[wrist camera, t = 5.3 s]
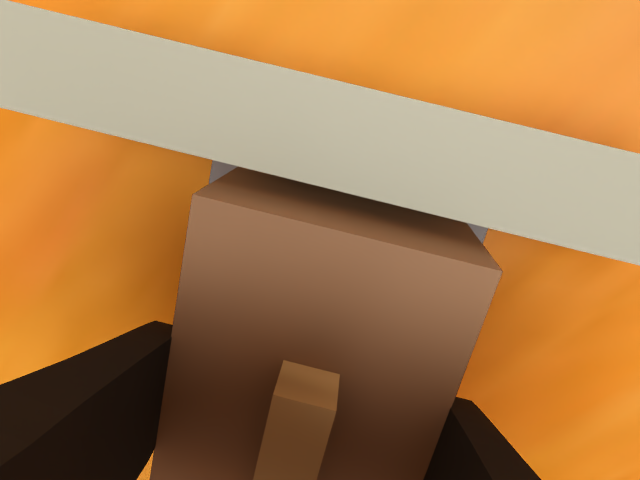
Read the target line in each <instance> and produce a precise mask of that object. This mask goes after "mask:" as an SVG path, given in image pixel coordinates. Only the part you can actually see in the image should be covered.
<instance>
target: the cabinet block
mask: <svg viewBox="0 0 640 480" xmlns="http://www.w3.org/2000/svg"><path fill="white" fill-rule="evenodd" d="M502 272H503V271H502V270H501V268H500V267H499V266H498V264H497V263H496V262H495V260H494V259H493V258H492V256H491V255H490V254H489V252H488V251H487V250H486V248H485V247H484V246H483V244H482V243H481V241H480V240H479V239H478V237H477V236H476V235H475V233H474V232H473V231H472V229H471V228H470V227H469V225H468V224H467V223H466V222H462V221H458V220H454V219H450V218H445V217H441V216H437V215H433V214H429V213H425V212H421V211H417V210H413V209H409V208H405V207H401V206H397V205H393V204H389V203H385V202H381V201H377V200H373V199H369V198H365V197H360V196H356V195H352V194H348V193H344V192H340V191H336V190H332V189H328V188H324V187H320V186H316V185H312V184H308V183H304V182H300V181H296V180H292V179H288V178H284V177H280V176H275V175H271V174H267V173H263V172H259V171H255V170H251V169H247V168H243V167H239V166H238V167H236V168H235V169H233V170H232V171H230V172H228V173H227V174H225V175H223V176H222V177H220V178H218V179H217V180H215V181H214V182H212V183H210V184H209V185H207V186H205V187H204V188H202V189H200V190H199V191H197V192H196V193H194V194H192V201H191V207H190V214H189V221H188V227H187V234H186V241H185V247H184V254H183V261H182V268H181V274H180V281H179V288H178V294H177V301H176V308H175V314H174V321H173V328H172V334H171V337H172V340H171V346H170V353H169V360H168V366H167V373H166V380H165V386H164V393H163V399H162V406H161V413H160V419H159V426H158V433H157V439H156V446H155V449H154V454H153V461H152V468H151V474H150V480H423V479H424V477H425V474H426V471H427V469H428V466H429V463H430V461H431V458H432V455H433V453H434V450H435V447H436V445H437V442H438V439H439V437H440V434H441V431H442V429H443V426H444V424H445V421H446V418H447V416H448V413H449V410H450V408H451V407H452V404H453V402H454V399H455V396H456V394H457V391H458V389H459V386H460V383H461V381H462V378H463V375H464V373H465V370H466V367H467V365H468V362H469V359H470V357H471V354H472V351H473V349H474V346H475V343H476V341H477V338H478V336H479V333H480V330H481V328H482V325H483V322H484V320H485V317H486V314H487V312H488V309H489V306H490V304H491V301H492V298H493V296H494V293H495V290H496V288H497V285H498V282H499V280H500V277H501V275H502Z"/></svg>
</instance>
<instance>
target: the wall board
mask: <svg viewBox="0 0 640 480" xmlns="http://www.w3.org/2000/svg"><path fill="white" fill-rule="evenodd" d="M0 108H4V109H8V110H12V111H16V112H20V113H25V114H29V115H33V116H37V117H41V118H45V119H49V120H53V121H57V122H61V123H65V124H69V125H73V126H77V127H81V128H85V129H89V130H93V131H97V132H101V133H105V134H110V135H114V136H118V137H122V138H126V139H130V140H134V141H138V142H142V143H146V144H150V145H154V146H158V147H162V148H166V149H170V150H174V151H178V152H182V153H186V154H190V155H195V156H199V157H203V158H207V159H211V160H213V161H212V167H211V173H210V179H209V184H210V183H212V182H214V181H215V180H217V179H218V178H220V177H222V176H223V175H225V174H227V173H228V172H230V171H232V170H233V169H235V168H236V167H238V166H239V167H243V168H247V169H251V170H255V171H259V172H263V173H267V174H271V175H275V176H280V177H284V178H288V179H292V180H296V181H300V182H304V183H308V184H312V185H316V186H320V187H324V188H328V189H332V190H336V191H340V192H344V193H348V194H352V195H356V196H360V197H365V198H369V199H373V200H377V201H381V202H385V203H389V204H393V205H397V206H401V207H405V208H409V209H413V210H417V211H421V212H425V213H429V214H433V215H437V216H441V217H445V218H450V219H454V220H458V221H462V222H466V223H467V224H468V225H469V227H470V228H471V229H472V231H473V232H474V233H475V235H476V236H477V237H478V239H479V240H480V241H481V243H482V244H483V241H484V238H485V235H486V232H487V230H488V228H490V229H494V230H498V231H502V232H506V233H510V234H514V235H518V236H522V237H526V238H530V239H535V240H539V241H543V242H547V243H551V244H555V245H559V246H563V247H567V248H571V249H575V250H579V251H583V252H587V253H591V254H595V255H599V256H603V257H607V258H611V259H615V260H620V261H624V262H628V263H632V264H636V265H640V154H638V153H634V152H630V151H626V150H621V149H617V148H613V147H609V146H605V145H601V144H597V143H593V142H588V141H584V140H580V139H576V138H572V137H568V136H564V135H560V134H555V133H551V132H547V131H543V130H539V129H535V128H531V127H527V126H523V125H518V124H514V123H510V122H506V121H502V120H498V119H494V118H490V117H485V116H481V115H477V114H473V113H469V112H465V111H461V110H457V109H453V108H448V107H444V106H440V105H436V104H432V103H428V102H424V101H420V100H415V99H411V98H407V97H403V96H399V95H395V94H391V93H387V92H383V91H378V90H374V89H370V88H366V87H362V86H358V85H354V84H350V83H345V82H341V81H337V80H333V79H329V78H325V77H321V76H317V75H312V74H308V73H304V72H300V71H296V70H292V69H288V68H284V67H280V66H275V65H271V64H267V63H263V62H259V61H255V60H251V59H247V58H242V57H238V56H234V55H230V54H226V53H222V52H218V51H214V50H210V49H205V48H201V47H197V46H193V45H189V44H185V43H181V42H177V41H172V40H168V39H164V38H160V37H156V36H152V35H148V34H144V33H140V32H135V31H131V30H127V29H123V28H119V27H115V26H111V25H107V24H102V23H98V22H94V21H90V20H86V19H82V18H78V17H74V16H70V15H65V14H61V13H57V12H53V11H49V10H45V9H41V8H37V7H32V6H28V5H24V4H20V3H16V2H12V1H8V0H0Z"/></svg>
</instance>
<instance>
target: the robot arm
mask: <svg viewBox="0 0 640 480" xmlns="http://www.w3.org/2000/svg"><path fill="white" fill-rule="evenodd" d="M172 328H173V325H170V324H166V323H162V322H158V321H153V322H150V323H148V324H145V325H143V326H140V327H138V328H136V329H134V330H131V331H129V332H127V333H125V334H123V335H120V336H118V337H116V338H114V339H112V340H109V341H107V342H105V343H103V344H100V345H98V346H96V347H94V348H91V349H89V350H87V351H84V352H82V353H80V354H78V355H75V356H73V357H71V358H68V359H66V360H63V361H61V362H58V363H56V364H53V365H51V366H48V367H45V368H43V369H40V370H38V371H35V372H33V373H30V374H27V375H25V376H22V377H20V378H17V379H15V380H12V381H9V382H7V383H4V384H1V385H0V480H137V478H138V476H139V475H140V473H141V472H142V470H143V469H144V467H145V465H146V464H147V462H148V460H149V458H150V456H151V454H152V453H153V451H154V449H155V446H156V439H157V433H158V426H159V419H160V413H161V406H162V399H163V393H164V386H165V380H166V373H167V366H168V360H169V353H170V346H171V340H172V337H171V334H172ZM423 480H541V479H540V478H539V477H538V476H537V474H536V473H535V472H534V471H533V470H532V469H531V468H530V466H529V465H528V464H527V463H526V462H525V461H524V460H523V458H522V457H521V456H520V455H519V454H518V453H517V452H516V450H515V449H514V448H513V447H512V446H511V445H510V443H509V442H508V441H507V440H506V439H505V438H504V436H503V435H502V434H501V433H500V432H499V431H498V429H497V428H496V427H495V426H494V425H493V424H492V422H491V421H490V420H489V419H488V418H487V417H486V416H485V415H484V413H483V412H482V411H481V410H480V409H479V408H478V407H477V406H476V405H475V404H474V403H473V402H472V401H470V400H466V399H462V398H458V397H455V399H454V402H453V404H452V407H451V408H450V410H449V413H448V416H447V418H446V421H445V424H444V426H443V429H442V431H441V434H440V437H439V439H438V442H437V445H436V447H435V450H434V453H433V455H432V458H431V461H430V463H429V466H428V469H427V471H426V474H425V477H424V479H423Z"/></svg>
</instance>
